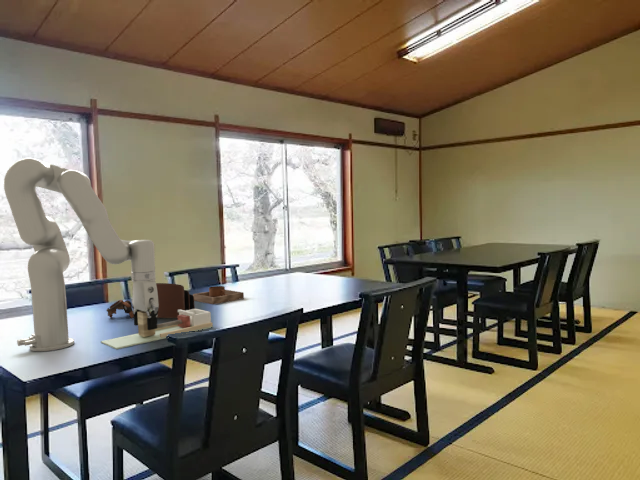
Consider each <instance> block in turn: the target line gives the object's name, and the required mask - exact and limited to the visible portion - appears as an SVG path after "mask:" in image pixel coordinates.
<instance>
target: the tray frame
mask: <svg viewBox="0 0 640 480" xmlns="http://www.w3.org/2000/svg"><path fill="white" fill-rule="evenodd" d="M225 294H229V295H224V296H219V297H209V296H207V295H209V291H205V292H204V291H203V292H198V293H193V294H192V295H193V296H194V302H199V303H204V304H210V305H218V304H223V303H228V302H234V301H240V300H244V299H245V297H244V292H242V291H235V290H230V289H225Z"/></svg>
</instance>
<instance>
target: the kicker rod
mask: <svg viewBox="0 0 640 480" xmlns="http://www.w3.org/2000/svg"><path fill="white" fill-rule="evenodd" d="M151 312H152V311H151ZM151 312H150V314H151ZM137 315H138V325H137V328H138V329H137V330H138V333H139V335H140V336H143V337H146V336H151V335H155V329H153V330H148V329H147V318H148V315H147V313H146V312H144V311H139V312H137ZM177 324H178V326H179V327H182V328H188V327H190V316H187V315H183V314H182V315H178V318H177V319H176V320H173V321H168V322H163V323H157V329H158V328H162V327H167V326H172V325H177Z"/></svg>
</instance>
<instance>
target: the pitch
mask: <svg viewBox="0 0 640 480" xmlns="http://www.w3.org/2000/svg"><path fill="white" fill-rule="evenodd" d="M178 312H179V315H182V314H183V315H187V316H192V325H193V326H190V327H188V328H182V327H179V326H178V324H177V325H172V326H167V327H162V328H158V329H155V335H151V336H146V337H143V336H140V335H139V333H134V334H133V333H132V334H128V335H125V336H119V337H116V338H115V337H114V338H108V339H106V340H101V341H100V343H101V344H103V345H106V346H108V347H110V348H112V349H114V350H120V349H124V348H128V347H133V346H137V345H142V344H146V343H150V342H156V341H158V340H163V339H167V338H166V336H167V335H168V334H175V333H181V332H189V331H195V332H199V331H203V330H207V329H212V328H213V327H214V326H213V322H212V314H211V311H207V310H203V309H199V308H195V309H191V310H186V311H184V310H178ZM211 327H212V328H211ZM202 329H203V330H202ZM198 330H199V331H198Z"/></svg>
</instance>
